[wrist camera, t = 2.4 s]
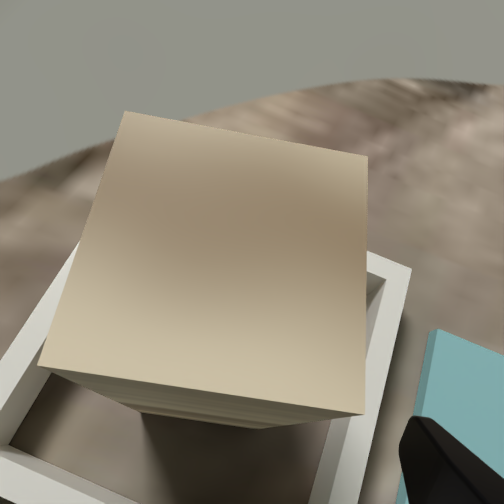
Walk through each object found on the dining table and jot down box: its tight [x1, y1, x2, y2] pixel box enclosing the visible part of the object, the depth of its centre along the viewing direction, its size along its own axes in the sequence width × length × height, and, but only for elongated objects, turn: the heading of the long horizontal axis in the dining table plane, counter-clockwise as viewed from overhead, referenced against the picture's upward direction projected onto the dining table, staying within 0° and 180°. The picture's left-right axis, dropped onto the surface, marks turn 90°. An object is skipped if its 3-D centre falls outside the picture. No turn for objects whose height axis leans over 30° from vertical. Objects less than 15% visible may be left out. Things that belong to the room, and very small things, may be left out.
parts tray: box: [0, 241, 412, 504], centre depth 17 cm, size 14×14×2 cm
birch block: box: [37, 111, 368, 429], centre depth 13 cm, size 5×5×12 cm
